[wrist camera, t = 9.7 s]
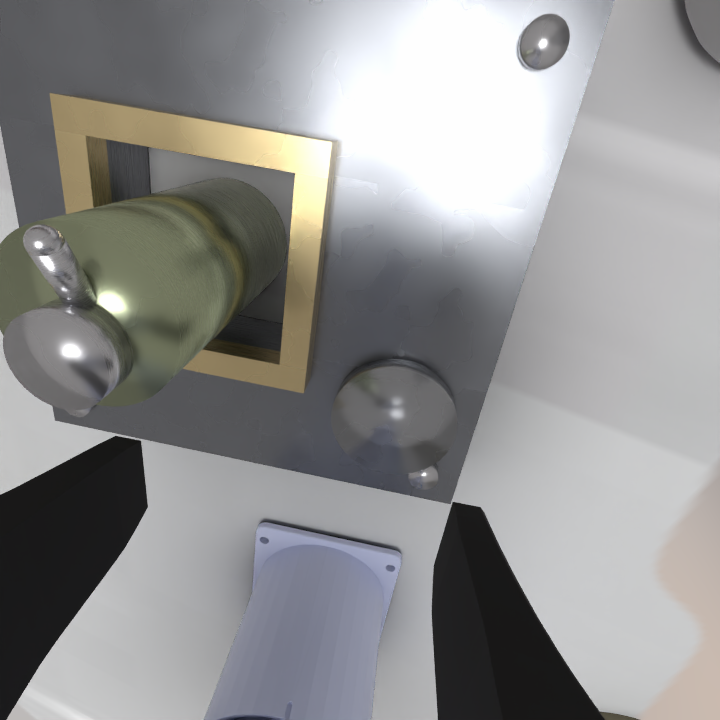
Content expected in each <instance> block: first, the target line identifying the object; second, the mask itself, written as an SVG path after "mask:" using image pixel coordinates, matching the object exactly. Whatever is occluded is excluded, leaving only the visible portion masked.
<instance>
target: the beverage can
mask: <svg viewBox="0 0 720 720" xmlns="http://www.w3.org/2000/svg"><path fill="white" fill-rule="evenodd" d="M685 7H686V12H687V15H688V18H689V21H690V23H691V25H692V28H693V30H694V32H695V35H696V37H697V39H698V41H699V42H700V44H701V45H702V47H703V48H704V49H705V50H706V51H707V52H708V53H709V54H710V55H711V56H712V57H713V58H714V59H715V60H716V61H718V62H719V63H720V0H685Z"/></svg>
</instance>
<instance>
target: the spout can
mask: <svg viewBox="0 0 720 720" xmlns="http://www.w3.org/2000/svg"><path fill="white" fill-rule="evenodd" d="M286 248H287V242H286V234H285V229H284V226H283V223H282V220H281V218H280V216H279V214H278V212H277V211H276V209H275V207H274V206H273V205H272V203H271V202H270V201H269V200H268V199H267V198H266V197H265V196H264V195H263V194H262V193H261V192H259V191H258V190H257V189H255V188H254V187H252V186H250V185H248V184H246V183H244V182H241V181H238V180H235V179H228V178H218V179H211V180H207V181H203V182H199V183H195V184H191V185H186V186H182V187H178V188H174V189H170V190H166V191H161V192H157V193H153V194H149V195H145V196H141V197H136V198H132V199H128V200H124V201H120V202H116V203H111V204H107V205H103V206H99V207H95V208H91V209H86V210H82V211H78V212H74V213H70V214H66V215H61V216H57V217H53V218H49V219H45V220H40V221H36V222H33V223H30V224H26V225H24V226H22V227H20V228H18V229H16V230H14V231H13V232H12V233H11V234H9V235H8V236H7V237H6V238H5V239H4V240H3V241H2V242H1V244H0V330H1V332H2V334H3V336H4V338H3V349H4V354H5V358H6V360H7V363H8V365H9V367H10V369H11V371H12V372H13V374H14V376H15V377H16V378H17V379H18V381H19V382H20V383H21V384H22V385H23V386H24V387H25V388H26V389H27V390H28V391H29V392H30V393H32V394H33V395H34V396H36V397H37V398H39V399H40V400H42V401H44V402H46V403H48V404H50V405H52V406H55V407H58V408H61V409H66V410H83V409H87V408H90V407H92V406H94V405H101V406H111V407H116V406H128V405H133V404H136V403H140V402H143V401H145V400H147V399H149V398H151V397H152V396H154V395H155V394H156V393H158V392H159V391H160V390H161V389H162V388H163V387H164V386H165V385H166V384H167V383H168V382H169V381H170V380H171V379H172V378H173V377H174V376H175V375H177V374H178V373H179V372H180V371H181V370H182V369H183V368H184V367H185V366H186V365H187V364H188V363H189V362H190V361H191V360H192V359H193V358H194V357H195V356H196V355H197V354H198V353H199V352H200V351H201V350H202V349H203V348H204V347H205V346H206V345H207V344H208V343H209V342H210V341H211V340H212V339H213V338H214V337H216V336H217V335H218V334H219V333H220V332H221V331H222V330H223V329H224V328H225V327H226V326H227V325H228V324H229V323H230V322H231V321H232V320H233V319H234V318H235V317H236V316H237V315H238V314H239V313H240V312H241V311H242V310H243V309H244V308H245V307H246V306H247V305H248V304H249V303H250V302H251V301H252V300H253V299H255V298H256V297H257V296H258V295H259V294H260V293H261V292H262V291H263V290H264V289H265V288H266V287H267V286H268V285H269V284H270V283H271V282H272V281H273V280H274V279H275V278H276V276H277V275H278V274H279V272H280V270H281V268H282V266H283V263H284V260H285V256H286Z"/></svg>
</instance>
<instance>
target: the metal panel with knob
mask: <svg viewBox="0 0 720 720" xmlns="http://www.w3.org/2000/svg"><path fill="white" fill-rule="evenodd" d="M613 4H614V0H0V126H1V132H2V137H3V142H4V148H5V153H6V159H7V164H8V169H9V175H10V180H11V185H12V191H13V196H14V202H15V207H16V212H17V218H18V223H19V228H20V227H22V226H24V225H26V224H30V223H33V222H36V221H40V220H45V219H49V218H53V217H57V216H61V215H66V214H70V213H74V212H78V211H82V210H86V209H91V208H95V207H99V206H103V205H107V204H111V203H116V202H120V201H124V200H128V199H132V198H136V197H141V196H145V195H149V194H150V180H149V162H148V147H152V148H158V149H164V150H169V151H175V152H180V153H186V154H192V155H197V156H203V157H208V158H214V159H220V160H225V161H231V162H236V163H242V164H248V165H253V166H259V167H264V168H270V169H276V170H281V171H287V172H292V173H295V180H294V193H293V205H292V217H291V230H290V242H289V255H288V267H287V280H286V292H285V304H284V317H283V324H280V323H274V322H269V321H264V320H259V319H254V318H249V317H244V316H239V315H237V316H236V317H235V318H234V319H233V320H232V321H231V322H230V323H229V324H228V325H227V326H226V327H225V328H224V329H223V330H222V331H221V332H220V333H219V334H218V335H217V336H216V337H214V338H213V339H212V340H211V341H210V342H209V343H208V344H207V345H206V346H205V347H204V348H203V349H202V350H201V351H200V352H199V353H198V354H197V355H196V356H195V357H194V358H193V359H192V360H191V361H190V362H189V363H188V364H187V365H186V366H185V367H184V368H183V369H182V370H181V371H180V372H179V373H178V374H177V375H175V376H174V377H173V378H172V379H171V380H170V381H169V382H168V383H167V384H166V385H165V386H164V387H163V388H162V389H161V390H160V391H159V392H158V393H156V394H155V395H154V396H152V397H151V398H149V399H147V400H145V401H143V402H140V403H136V404H133V405H128V406H116V407H111V406H101V405H94V406H92V407H90V408H87V409H83V410H66V409H61V408H58V407H55V406H53V411H54V417H55V420H56V421H60V422H65V423H70V424H74V425H79V426H84V427H89V428H93V429H98V430H103V431H107V432H112V433H117V434H122V435H126V436H131V437H136V438H141V439H145V440H150V441H155V442H159V443H164V444H169V445H174V446H178V447H183V448H188V449H193V450H197V451H202V452H207V453H211V454H216V455H221V456H226V457H230V458H235V459H240V460H244V461H249V462H254V463H259V464H263V465H268V466H273V467H278V468H282V469H287V470H292V471H296V472H301V473H306V474H311V475H315V476H320V477H325V478H329V479H334V480H339V481H344V482H348V483H353V484H358V485H363V486H367V487H372V488H377V489H381V490H386V491H391V492H396V493H400V494H405V495H410V496H414V497H419V498H424V499H429V500H433V501H438V502H443V503H448V504H451V501H452V498H453V495H454V491H455V488H456V485H457V482H458V479H459V476H460V473H461V470H462V467H463V464H464V461H465V458H466V455H467V452H468V449H469V445H470V442H471V439H472V436H473V433H474V430H475V427H476V424H477V421H478V418H479V415H480V412H481V409H482V406H483V402H484V399H485V396H486V393H487V390H488V387H489V384H490V381H491V378H492V375H493V372H494V369H495V366H496V363H497V360H498V356H499V353H500V350H501V347H502V344H503V341H504V338H505V335H506V332H507V329H508V326H509V323H510V320H511V317H512V313H513V310H514V307H515V304H516V301H517V298H518V295H519V292H520V289H521V286H522V283H523V280H524V277H525V274H526V271H527V267H528V264H529V261H530V258H531V255H532V252H533V249H534V246H535V243H536V240H537V237H538V234H539V231H540V228H541V224H542V221H543V218H544V215H545V212H546V209H547V206H548V203H549V200H550V197H551V194H552V191H553V188H554V185H555V182H556V178H557V175H558V172H559V169H560V166H561V163H562V160H563V157H564V154H565V151H566V148H567V145H568V142H569V139H570V135H571V132H572V129H573V126H574V123H575V120H576V117H577V114H578V111H579V108H580V105H581V102H582V99H583V96H584V93H585V89H586V86H587V83H588V80H589V77H590V74H591V71H592V68H593V65H594V62H595V59H596V56H597V53H598V50H599V46H600V43H601V40H602V37H603V34H604V31H605V28H606V25H607V22H608V19H609V16H610V13H611V10H612V7H613Z"/></svg>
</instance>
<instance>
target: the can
mask: <svg viewBox="0 0 720 720" xmlns="http://www.w3.org/2000/svg"><path fill="white" fill-rule="evenodd" d="M600 713H601V714H602V716H603V717H604V718H605V720H639V719H635V718H632V717H628V716H624V715H619V714H613V713H606V712H600Z"/></svg>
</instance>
